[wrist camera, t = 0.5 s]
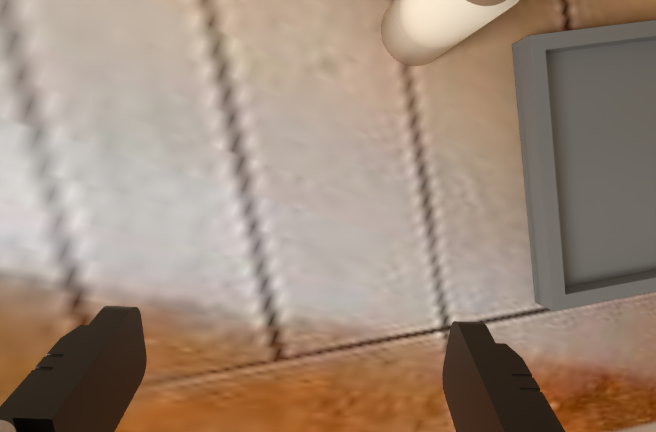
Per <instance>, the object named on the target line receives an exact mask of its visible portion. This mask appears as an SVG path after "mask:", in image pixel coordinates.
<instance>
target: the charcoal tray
mask: <svg viewBox="0 0 656 432" xmlns="http://www.w3.org/2000/svg"><path fill="white" fill-rule="evenodd" d="M512 49H513V60H514V71H515V82H516V94H517V105H518V116H519V127H520V138H521V149H522V160H523V171H524V182H525V193H526V204H527V215H528V226H529V237H530V248H531V259H532V270H533V281H534V292H535V302H536V303H538V304H540V305H542V306H544V307H546V308H548V309H550V310H552V311H557V310H562V309H567V308H572V307H578V306H583V305H588V304H593V303H598V302H604V301H609V300H614V299H619V298H624V297H630V296H635V295H640V294H645V293H650V292H656V20H651V21H643V22H635V23H627V24H619V25H610V26H602V27H594V28H586V29H578V30H570V31H562V32H554V33H545V34H537V35H529V36H527V37H526V38H524V39H522V40H520V41H518V42H516V43H514V44H512Z"/></svg>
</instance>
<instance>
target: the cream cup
mask: <svg viewBox="0 0 656 432" xmlns="http://www.w3.org/2000/svg"><path fill="white" fill-rule="evenodd" d="M518 1H520V0H393V2H392V3H391V4H390V6H389V7H388V9H387V10H386V12H385V14H384V16H383V20H382V24H381V35H382V40H383V43H384V45H385V48H386V49H387V51H388V52H389V54H390V55H391V56H392V57H393V58H394V59H396V60H397V61H399V62H400V63H403V64H405V65H409V66H421V65H425V64H428V63H430V62H432V61H433V60H434V59H436V58H437V57H439V56H440V55H442V54H443V53H445V52H446V51H448V50H449V49H451V48H452V47H454V46H455V45H457V44H458V43H459V42H461V41H462V40H464V39H465V38H467V37H468V36H470V35H471V34H473V33H474V32H476V31H477V30H479V29H480V28H482V27H483V26H485V25H486V24H487V23H489V22H490V21H492V20H493V19H495V18H496V17H498V16H499V15H501V14H502V13H504V12H505V11H507V10H508V9H510V8H511V7H512V6H514V5H515V4H516V3H517V2H518Z"/></svg>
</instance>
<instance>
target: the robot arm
mask: <svg viewBox="0 0 656 432" xmlns="http://www.w3.org/2000/svg"><path fill="white" fill-rule="evenodd" d="M145 369H146V349H145V342H144V335H143V327H142V320H141V314H140V311H139V309H138V308H137V307H122V306H105V307H104V308H102V309H101V311H100V312H99V313H98V314H97V316H96V317H95V318H94V319H93V320H92V322H91V323H90V324H89V325H80V326H79V327H77V328H76V329H74V330H73V331H71V332H70V333H68V334H66V335H65V336H63V337H62V338H60V340H59V341H58V342H57V343H56V344H55V345H54V346H53V348H52V349H51V350H50V351H49V352H48V353H47V357H44V358H43V359H42V360H41V361H40V362H39V363H38V365H37V366H36V369H35V370H32V371H31V373H30V374H29V375H28V376H27V377H26V378H25V379H24V380H23V382H22V383H21V384H20V385H19V386H18V387H17V388H16V390H15V391H14V392H13V393H12V394H11V395H10V396H9V398H8V399H7V400H6V401H5V402H4V403H3V404H2V405H1V407H0V432H114V431H115V429H116V428H117V426H118V424H119V422H120V420H121V418H122V417H123V415H124V413H125V411H126V409H127V407H128V405H129V404H130V402H131V400H132V398H133V396H134V394H135V392H136V391H137V389H138V387H139V385H140V383H141V381H142V379H143V376H144V373H145ZM443 389H444V394H445V397H446V401H447V404H448V407H449V410H450V413H451V417H452V420H453V423H454V426H455V429H456V432H565V431H564V429H563V427H562V425H561V424H560V422H559V420H558V419H557V417H556V415H555V413H554V412H553V410H552V408H551V407H550V405H549V403H548V402H547V400H546V398H545V396H544V395H543V393H542V392H540V388H539V386H538V384H537V383H536V381H535V379H534V378H532V374H531V372H530V371H529V369H528V367H527V366H526V364H525V362H524V360H523V359H522V358H521V357H520V356H519V355H518V354H517V353H516V352H515V351H513V350H512V349H511V348H510V347H509V346H508V345H507V344H498V343H495V341H494V339H493V337H492V336H491V334H490V332H489V330H488V328H487V326H486V325H485V324H484V323H479V322H455V321H454V322H453V323H452V325H451V329H450V334H449V339H448V345H447V350H446V355H445V361H444V366H443Z"/></svg>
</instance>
